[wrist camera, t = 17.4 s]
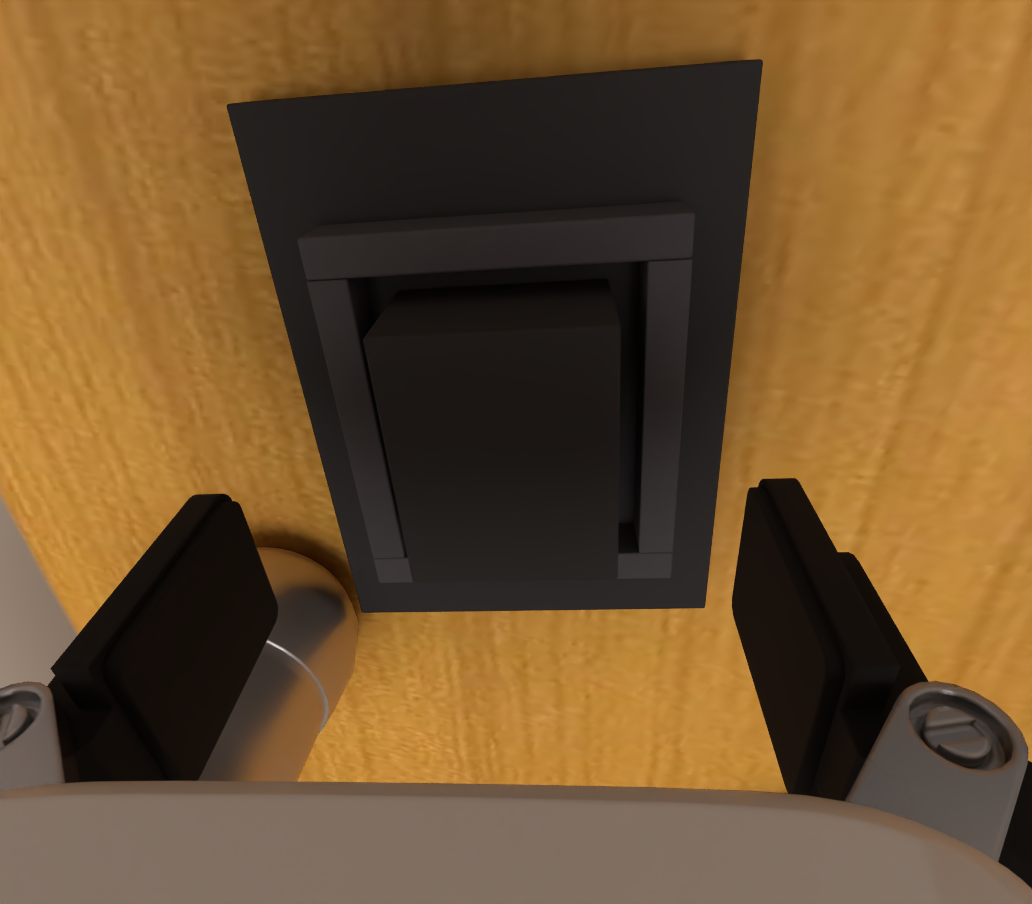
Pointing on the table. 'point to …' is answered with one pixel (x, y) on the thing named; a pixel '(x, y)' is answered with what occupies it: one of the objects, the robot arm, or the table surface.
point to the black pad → (502, 429)
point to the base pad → (519, 282)
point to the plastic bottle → (289, 675)
